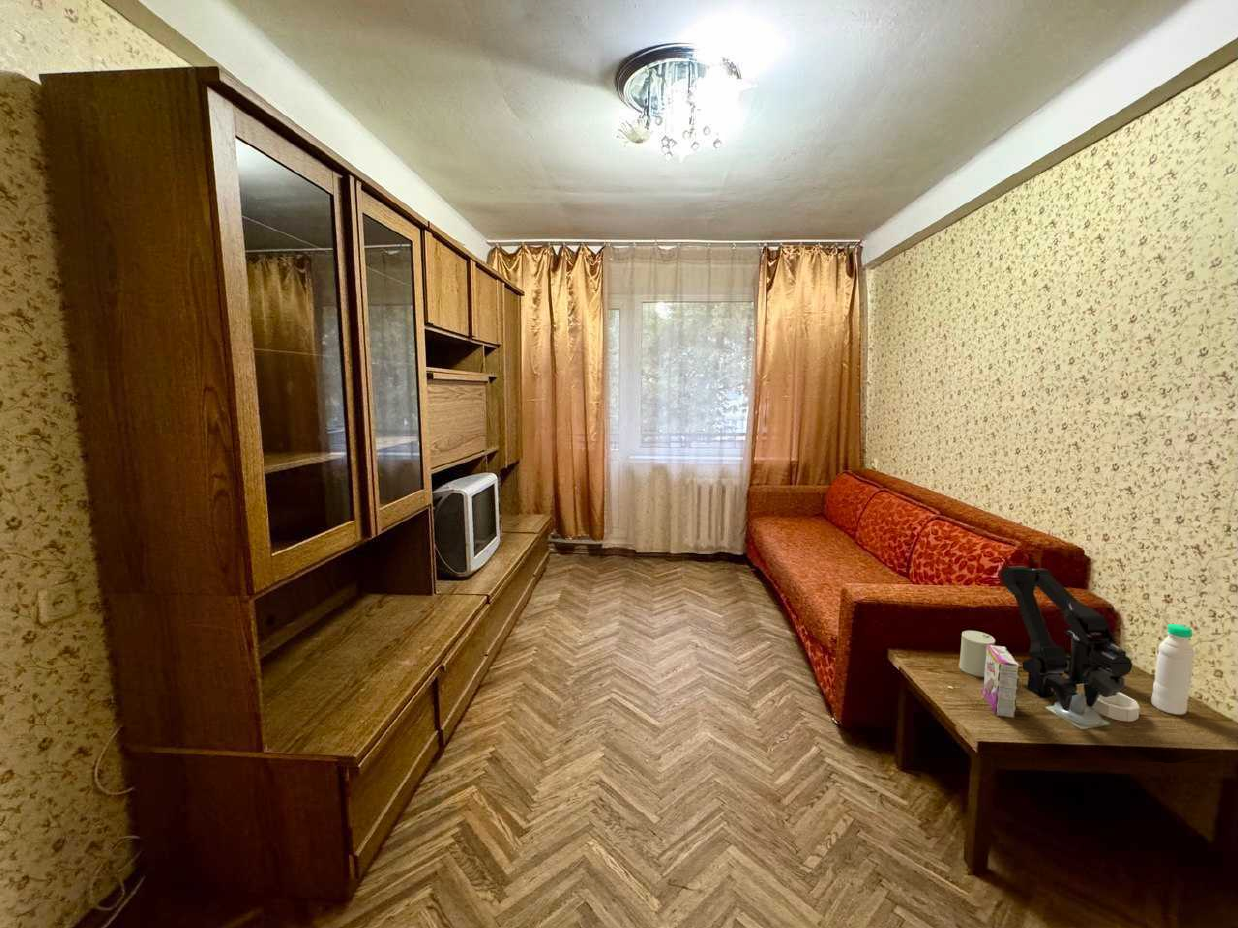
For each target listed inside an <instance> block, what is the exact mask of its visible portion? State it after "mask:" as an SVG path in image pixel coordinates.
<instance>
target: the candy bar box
mask: <svg viewBox="0 0 1238 928" xmlns="http://www.w3.org/2000/svg"><path fill="white" fill-rule="evenodd" d="M1019 672H1020V664H1019V663H1018V662H1017V660H1016V659H1015V658H1014V657H1013V656H1012V654H1011V653H1010V652H1009V650H1008V649H1007V647H1005V646H1002V645H996V644H995V645H987V647H986V660H985V674H984V677H983V689H982V695H983V697H984V698H985V700H986V701H987V703H988V704H989V706H990V707H991V711H993V713H994V715H995V716H998V717H1003V718H1005V717H1008V718H1013V719H1014V718H1016V708H1017V696H1018V686H1019V685H1018V684H1019Z"/></svg>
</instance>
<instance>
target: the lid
mask: <svg viewBox="0 0 1238 928" xmlns="http://www.w3.org/2000/svg"><path fill="white" fill-rule="evenodd" d="M1075 693H1077V694H1078V695H1075V696H1072V699H1071V703H1070V707H1069V710H1068V711H1065V710H1063V708H1062V706H1061V704H1060V702H1059V700H1058V701H1056V702H1054V703H1053V706H1054V711H1055V712H1056V713H1057V714H1058V715H1059V716H1058V715H1057V714H1056V715H1057V716H1058V717H1060V716H1061V717H1060V718H1062V719H1063V718H1064V720H1065V719H1066V720H1065V721H1067V720H1068V721H1067V722H1069V721H1070V722H1073V723H1076V724H1079V725H1083V726H1090V727H1091V728H1096V727H1100V726H1099V725H1100V724H1101V719H1102V717H1101V716H1102V715H1101V714H1099V713H1098V712H1096V711H1094V710H1093V709H1092V708H1091V707H1089V706H1088V705H1087V703H1086V696H1085V693H1082V692H1077V691H1076V692H1075ZM1070 722H1069V723H1070ZM1095 726H1096V727H1095Z"/></svg>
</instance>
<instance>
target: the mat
mask: <svg viewBox="0 0 1238 928" xmlns="http://www.w3.org/2000/svg"><path fill="white" fill-rule="evenodd" d="M1044 708H1045V709H1046V710H1048V711H1050V712H1051V713H1053V714H1055V715H1057V716H1058V717H1060V718H1062V717H1061V716H1059V715H1058V714H1057V713H1056V712H1055V711H1054V705H1051V706H1045V707H1044ZM1062 719H1064V718H1062ZM1064 720H1065V721H1066V722H1069V723H1070V724H1072V725H1074V726H1075V727H1077V728H1079V729H1080V730H1084V729H1085V730H1086V729H1091V728H1092V727H1090V726H1083V725H1079V724H1076V723H1073V722H1070V721H1068V720H1066V719H1064ZM1107 725H1111V723H1110V722H1109V721H1107V720H1105V719H1103V718H1101V724H1100V725H1099V726H1098V727H1101V726H1107ZM1096 727H1097V726H1095V727H1094V728H1096Z"/></svg>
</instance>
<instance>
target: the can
mask: <svg viewBox="0 0 1238 928" xmlns="http://www.w3.org/2000/svg"><path fill="white" fill-rule="evenodd" d="M960 642H961V643H960V644H961V645H960V657H959V663H958V666H959V669H960V670H962V671H963V672H965V673H967V674H969V675H971V676H975V677H978V678H984V674H985V660H986V647H987V645H995V646H996V639H995V638H994V637H993V636H992V635H990V634H988V633H985V632H981V631H977V630H964V631H962V633H961V641H960Z"/></svg>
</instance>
